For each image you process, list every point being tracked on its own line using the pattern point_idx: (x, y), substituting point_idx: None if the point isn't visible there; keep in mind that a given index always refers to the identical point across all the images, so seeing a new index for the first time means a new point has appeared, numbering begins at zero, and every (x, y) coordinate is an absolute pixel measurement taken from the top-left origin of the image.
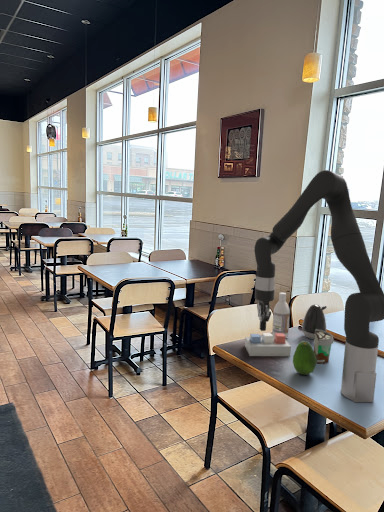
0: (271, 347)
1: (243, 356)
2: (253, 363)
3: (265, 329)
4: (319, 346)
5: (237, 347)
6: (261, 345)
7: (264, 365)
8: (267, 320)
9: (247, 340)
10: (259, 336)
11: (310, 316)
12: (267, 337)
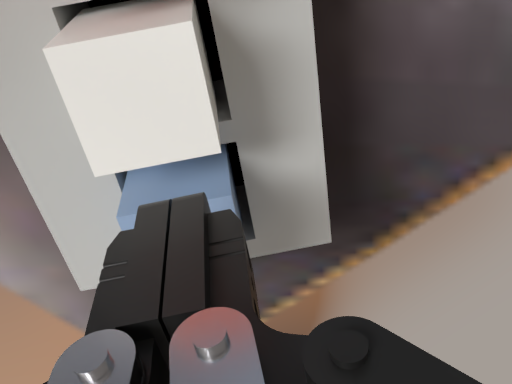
0: (311, 23)
1: None
2: (445, 162)
3: (206, 203)
4: None
5: None
6: (298, 144)
7: (490, 79)
8: (410, 367)
9: None
10: (217, 209)
11: None
12: (212, 105)
